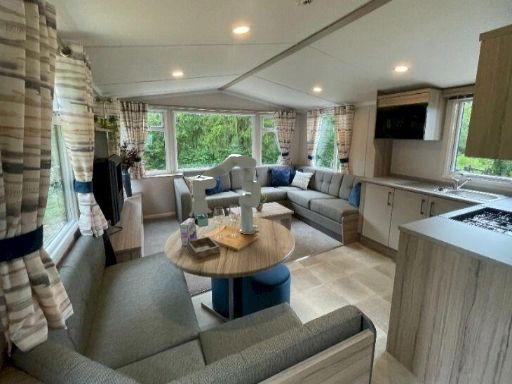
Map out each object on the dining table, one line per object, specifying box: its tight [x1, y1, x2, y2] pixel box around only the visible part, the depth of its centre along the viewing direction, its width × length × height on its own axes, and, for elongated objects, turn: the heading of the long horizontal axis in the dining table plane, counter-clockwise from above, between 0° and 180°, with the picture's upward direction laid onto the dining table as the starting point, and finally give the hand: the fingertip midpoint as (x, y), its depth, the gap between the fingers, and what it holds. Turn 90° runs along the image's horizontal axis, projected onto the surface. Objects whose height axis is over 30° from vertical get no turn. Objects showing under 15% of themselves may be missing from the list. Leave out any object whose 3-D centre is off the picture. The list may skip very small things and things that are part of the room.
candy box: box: [179, 217, 198, 247], centre depth 186 cm, size 14×6×16 cm, turn 168°
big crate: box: [187, 235, 221, 260], centre depth 173 cm, size 16×20×5 cm
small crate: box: [197, 214, 209, 228], centre depth 169 cm, size 6×10×5 cm, turn 31°
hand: (201, 223), depth 169 cm, fingers closed on small crate, 6 cm apart
